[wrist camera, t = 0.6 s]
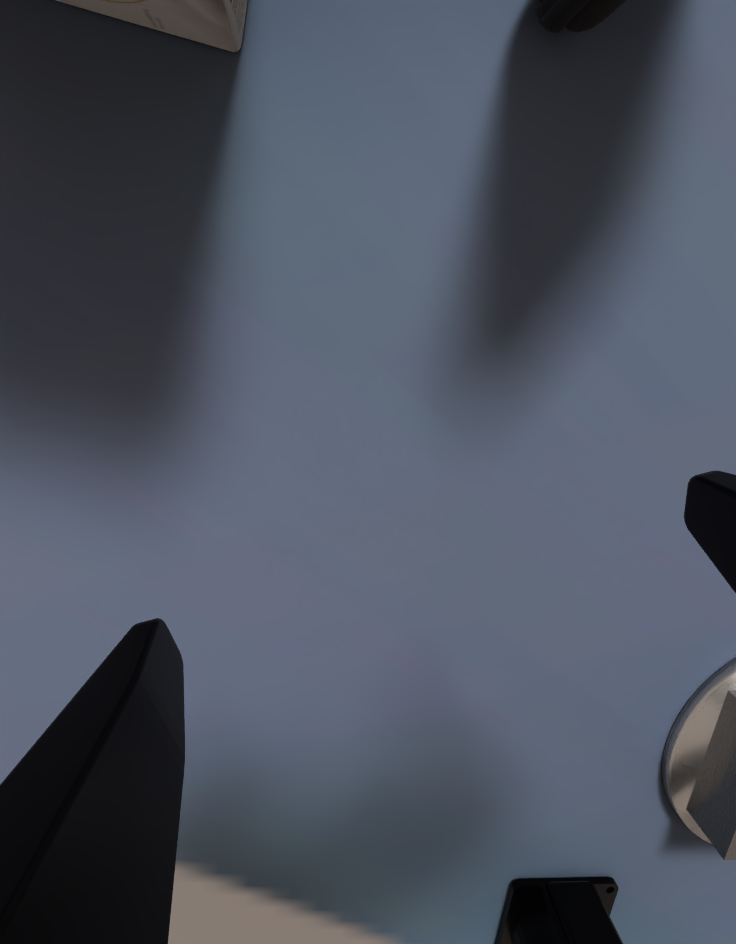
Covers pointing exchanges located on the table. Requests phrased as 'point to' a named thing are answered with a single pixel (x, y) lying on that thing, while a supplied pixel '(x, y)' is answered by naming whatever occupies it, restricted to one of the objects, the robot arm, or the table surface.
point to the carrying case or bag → (574, 13)
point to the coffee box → (180, 17)
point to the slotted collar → (706, 762)
